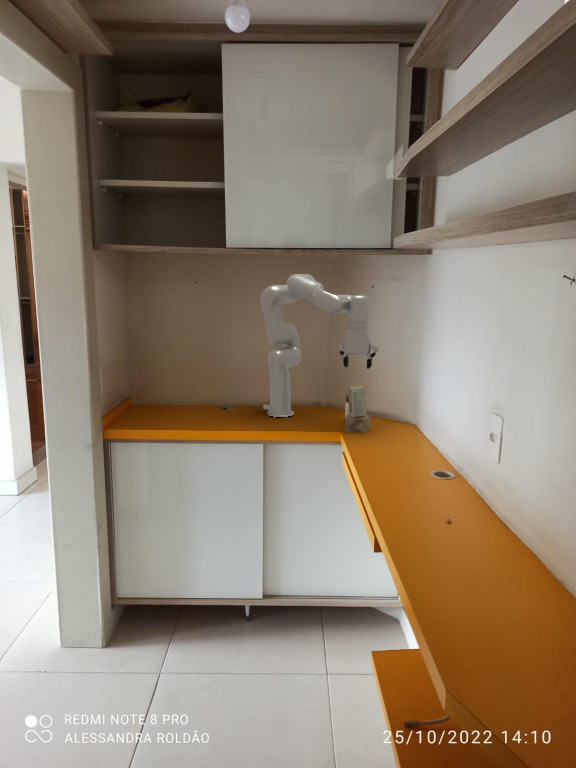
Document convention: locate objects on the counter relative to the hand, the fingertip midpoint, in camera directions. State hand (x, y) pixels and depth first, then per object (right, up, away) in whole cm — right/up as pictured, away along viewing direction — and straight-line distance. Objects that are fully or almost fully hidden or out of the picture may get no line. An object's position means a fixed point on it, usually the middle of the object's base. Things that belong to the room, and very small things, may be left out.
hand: (357, 367), depth 227 cm
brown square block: (0, -26, +4) cm, 27 cm away
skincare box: (0, -20, +4) cm, 21 cm away
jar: (+1, -24, +16) cm, 29 cm away
